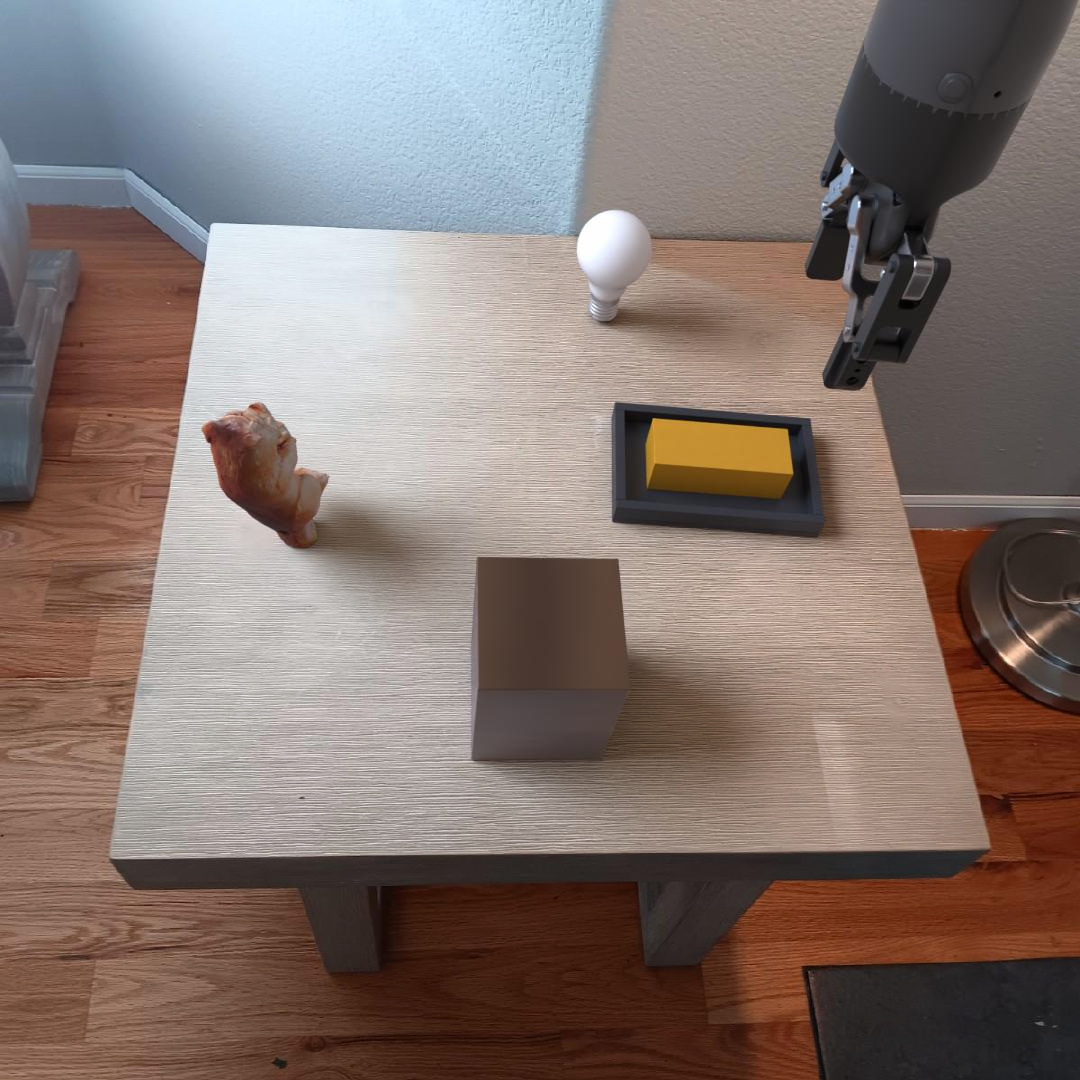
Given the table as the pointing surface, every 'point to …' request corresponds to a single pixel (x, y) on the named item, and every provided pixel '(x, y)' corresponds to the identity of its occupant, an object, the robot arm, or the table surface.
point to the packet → (718, 458)
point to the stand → (546, 658)
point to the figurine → (266, 473)
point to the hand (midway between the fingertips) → (830, 327)
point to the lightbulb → (612, 258)
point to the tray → (703, 510)
